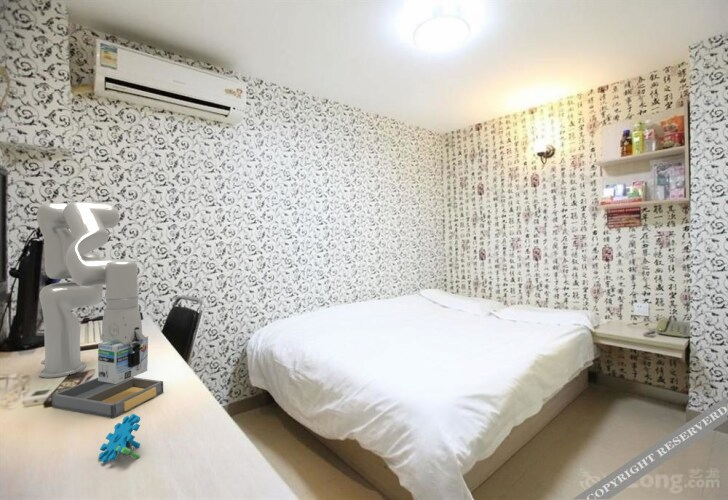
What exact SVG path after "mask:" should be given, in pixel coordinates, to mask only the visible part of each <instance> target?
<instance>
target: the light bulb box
mask: <svg viewBox="0 0 728 500" xmlns="http://www.w3.org/2000/svg"><path fill="white" fill-rule="evenodd" d="M144 336H145V337H146V339H147V341H146V343H145V344H144V346H143V347H142V350H141V351H140V364H139V365H137V366H134V367H131V368H129V367H128V354H129V353H130V352H129V349H128V345H124V344H121V343H116V342H110V341H105V342H103V341H102V342H99V343H98V344H97V345H98V350H97V351H98V352H97V354H98V355H97V362H98V365H97V377H98V381H102V382H108V383H113V384H117V383H120V382H122V381H124V380H127V379H129V378H131V377H136V376H138V375H141V374H143V373H145V372H148V360H149V359H148V357H149V356H148V355H149V353H148V352H149V336H148V335H144ZM133 341H135V340H133ZM133 341H132V342H133ZM132 346H133V348H134V347H135V344H132Z"/></svg>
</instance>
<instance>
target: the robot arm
mask: <svg viewBox="0 0 728 500" xmlns="http://www.w3.org/2000/svg"><path fill="white" fill-rule="evenodd" d="M119 220H120V215H119V212H118V210H117V209H116V207H115V206H114V205H112V204H110V203H105V202H95V201H72V202H70V203H69V202H47V203H46V202H45V203H43V204H41V205H40V206H38V208H37V211H36V221H37V222H36V223H37V225H38V228H39V230H40V232H41V234H42V238H43V241H44V269H45V274H46V276H47V278H49V279H53V280H65V279H72V280H73V281H68V282H66V281H65V282H56V283H51V284H48V285H46V286H44V287H42V289H40V291H39V296H38V297H39V302H40V305H41V306H40V307H41V310H42V316H43V330H44V331H43V332H44V333H43V334H44V337H43V338H44V359H43V360H41V361H40V364H41V365H43V366H44V368H43V369H41V370H39V373H38V374H39V377H40V378H47V379H48V378H50V379H51V378H60V377H65V376H69V374H70V375H72V374H76V372H77V373H79V372H81V371H83V370H85V369H86V367H87V363H86V362H84V361H83V362H82V361H81V328H80V327H81V326H80V319H79V317H78V316H77V315H76V314H74V313H73V312H72V311H71V310H73V309H78V308H84V307H91V306H96V305H98V304H99V303H101V301H102V299H103V293H104V290H103V289H104V288H103V287H104V286H105V303H106V307H105V309H104V311H103V316H102V326H101V335H100V337H99V338H100V340H101V341H102V342H105V341H110V342H116V343H121V344H124V345H128V349H129V352H130V353H129V354H128V367H129V368H131V367H134V366H137V365H139V364H140V351H141V350H142V347H143V346H144V344H145V343H146V341H147V339H146V337H145V336H146V335H144V334H143V326H142V317H141V316H142V315H141V312H140V308H139V297H138V296H139V293H138V290H139V289H138V288H139V286H138V283H139V282H138V281H139V279H138V264H137V262H136V261H133V260H126V259H123V258H112V259H111V258H110V259H109V258H107V259H105V258H104V259H101V257H100V255H99V254H98V253H96V252H94V251H95V250H97V249H100V248H101V247H103V246H105V245H106V244H107V243H108V242H109V238H110V234H109V233H108V231H107V229H113V228H116V227H117V225H118V223H119ZM133 340H135V341H133ZM132 341H133V342H132ZM132 344H135V347H134V348H133V346H132Z"/></svg>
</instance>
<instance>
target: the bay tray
mask: <svg viewBox="0 0 728 500" xmlns="http://www.w3.org/2000/svg"><path fill="white" fill-rule="evenodd" d="M163 393H164V381H163V380H155V379H149V378H148V379H147V378H143V377H142V378H141V377H136V376H134V377H131V378H129V379H127V380H124V381H122V382H120V383H117V384H113V383H108V382H102V381H98V376H97V377H95V378H92V379H89V380H87V381H84V382H82V383H79V384H76V385H74V386H71V387H69V388H66V389H63V390H60V391H58V392H55V393H53V394H51V407H52V408H55V409H59V410H65V411H71V412H77V413H82V414H88V415H93V416H97V417H104V418H108V419H115V418H118V417H119V416H121V415H123V414H125V413H127V412H128V411H130V410H132V409H134V408H136V407H138V406H140V405H142V404H144V403H146V402H148V401H149V400H152V399H154V398H155V397H157V396H159V395H161V394H163Z"/></svg>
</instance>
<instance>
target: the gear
mask: <svg viewBox="0 0 728 500" xmlns="http://www.w3.org/2000/svg"><path fill="white" fill-rule="evenodd" d="M140 421H141V416H139V415H137V414H135V413H132V414H131V415H130V416H128V415H127V416H124V417H123V419H122V423H120V422H118V423H116V424H115V425H114V427H113V428H114V430H113V433H112V432H109V433H108V434H107V435H106V436H105V439H106V440H108V443H102V445H101V446H100V448H99V450H100V451H102V452H100V453H99V455H98V460H100V461H101V462H102V463H104V464H107V463H108V462H109V461H112V462H114V461H115V460H116V459H117V456H118V454H122V456H124V457H126V458H128V457H129V456H131V457H133V458H135V459H139V458H140V457H141V455H140V454H138V453H136V452H134V451H133V448H136V449H138V448H140V446H141V443H140V442H137V441H135V440H134V439H135V438H136V435H134V434H132V432H133V431H134V432H137V431H138V430H140V426H141V425H140V424H139V423H140Z"/></svg>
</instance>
